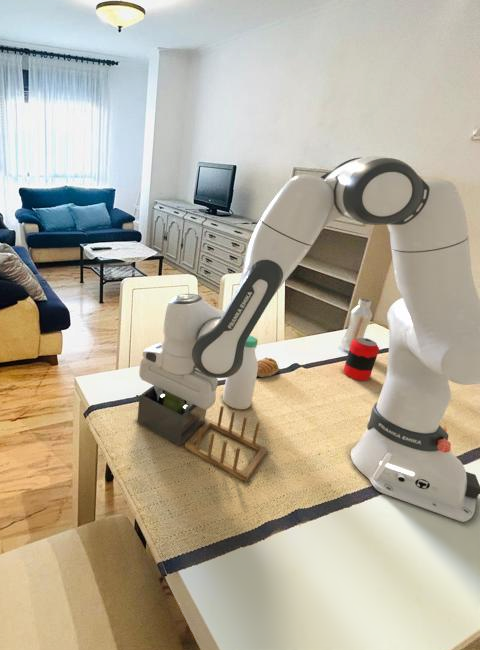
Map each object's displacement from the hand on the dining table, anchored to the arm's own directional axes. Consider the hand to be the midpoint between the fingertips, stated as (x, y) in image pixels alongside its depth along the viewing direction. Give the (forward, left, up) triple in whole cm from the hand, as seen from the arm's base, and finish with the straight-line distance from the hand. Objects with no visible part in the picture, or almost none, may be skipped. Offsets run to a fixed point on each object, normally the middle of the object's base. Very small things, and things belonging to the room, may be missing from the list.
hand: (173, 406), depth 97 cm
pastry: (-9, -42, -5) cm, 43 cm away
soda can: (-32, -62, -5) cm, 70 cm away
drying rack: (-15, 0, -4) cm, 16 cm away
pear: (0, 0, -4) cm, 4 cm away
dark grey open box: (0, 0, -4) cm, 4 cm away
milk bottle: (-9, -20, -5) cm, 22 cm away
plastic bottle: (-27, -80, -5) cm, 85 cm away
